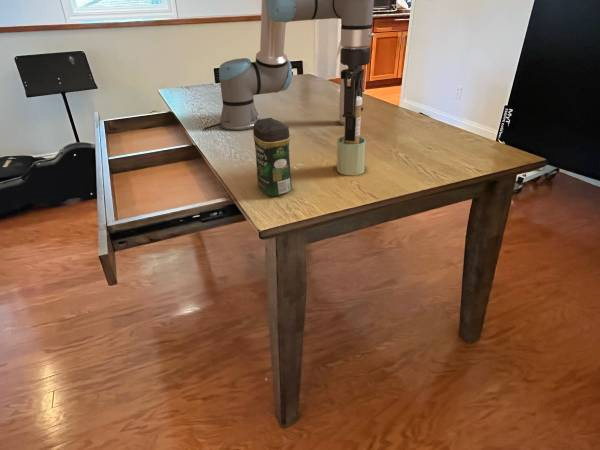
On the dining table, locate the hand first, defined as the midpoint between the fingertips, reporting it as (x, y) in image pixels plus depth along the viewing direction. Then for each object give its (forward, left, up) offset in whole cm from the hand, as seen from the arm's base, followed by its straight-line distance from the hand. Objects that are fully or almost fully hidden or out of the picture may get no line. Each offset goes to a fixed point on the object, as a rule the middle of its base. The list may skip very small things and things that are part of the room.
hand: (351, 137), depth 115 cm
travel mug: (+10, +44, -10) cm, 46 cm away
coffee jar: (-23, -9, -10) cm, 27 cm away
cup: (0, 0, -10) cm, 10 cm away
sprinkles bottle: (0, 0, -3) cm, 3 cm away
